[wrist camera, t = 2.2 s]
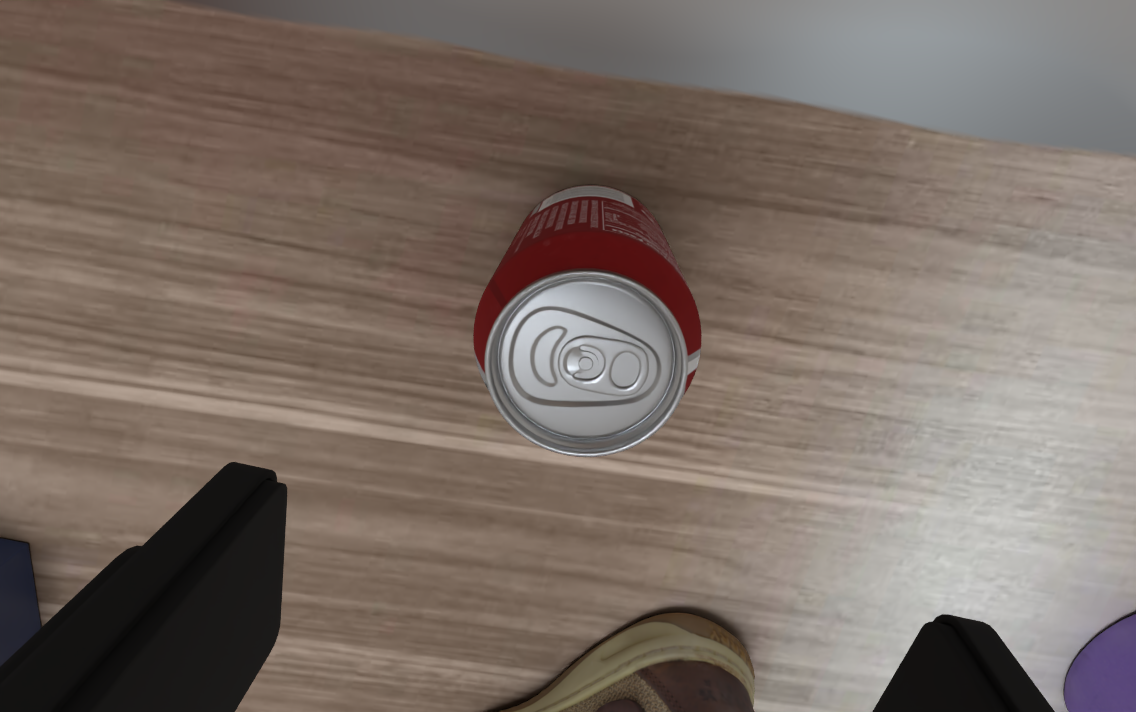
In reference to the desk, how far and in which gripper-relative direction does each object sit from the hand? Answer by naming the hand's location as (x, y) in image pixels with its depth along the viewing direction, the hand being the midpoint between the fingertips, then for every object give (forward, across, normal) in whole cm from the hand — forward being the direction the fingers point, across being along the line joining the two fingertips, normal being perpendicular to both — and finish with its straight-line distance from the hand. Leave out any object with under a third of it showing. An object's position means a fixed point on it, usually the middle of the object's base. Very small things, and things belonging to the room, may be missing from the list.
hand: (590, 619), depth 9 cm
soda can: (+21, 0, 0) cm, 21 cm away
